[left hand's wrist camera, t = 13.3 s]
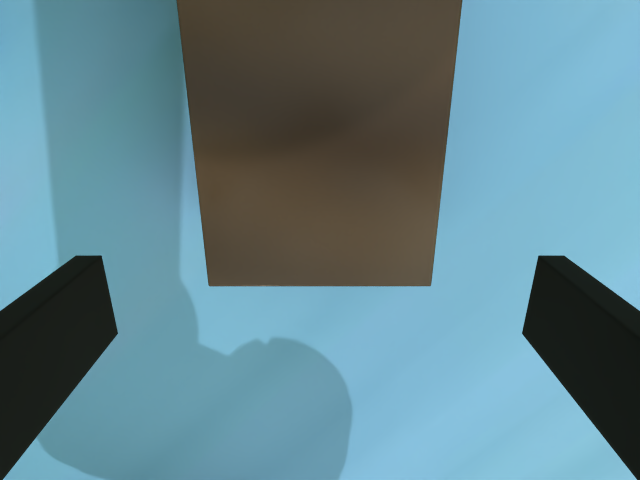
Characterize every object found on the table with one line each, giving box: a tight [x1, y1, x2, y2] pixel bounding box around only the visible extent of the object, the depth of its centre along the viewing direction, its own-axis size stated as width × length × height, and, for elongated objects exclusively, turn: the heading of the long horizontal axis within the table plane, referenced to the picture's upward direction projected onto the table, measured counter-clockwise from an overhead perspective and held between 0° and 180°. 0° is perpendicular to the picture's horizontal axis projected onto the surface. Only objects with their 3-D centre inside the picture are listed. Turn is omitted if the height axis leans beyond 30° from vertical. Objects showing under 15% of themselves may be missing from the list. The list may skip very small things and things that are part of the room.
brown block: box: [177, 0, 462, 286], centre depth 21 cm, size 17×11×8 cm, turn 0°
